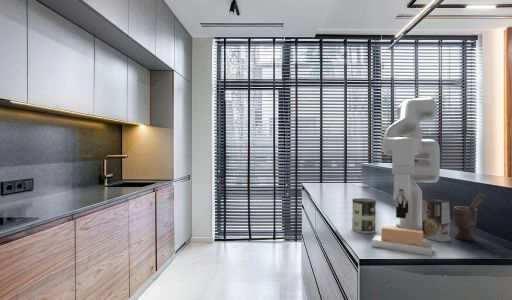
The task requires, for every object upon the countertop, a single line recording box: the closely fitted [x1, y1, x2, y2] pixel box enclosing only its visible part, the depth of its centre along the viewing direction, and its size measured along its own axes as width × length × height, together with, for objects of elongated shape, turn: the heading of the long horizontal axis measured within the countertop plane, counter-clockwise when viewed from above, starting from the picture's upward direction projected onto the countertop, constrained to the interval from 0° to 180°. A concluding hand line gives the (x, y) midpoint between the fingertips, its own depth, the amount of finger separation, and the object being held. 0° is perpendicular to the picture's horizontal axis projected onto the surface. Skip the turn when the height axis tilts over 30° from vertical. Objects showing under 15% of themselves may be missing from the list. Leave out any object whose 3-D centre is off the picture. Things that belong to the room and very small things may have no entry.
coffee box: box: [421, 198, 452, 243], centre depth 135 cm, size 9×6×16 cm
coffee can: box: [351, 197, 377, 234], centre depth 147 cm, size 10×10×14 cm
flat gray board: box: [371, 234, 433, 257], centre depth 121 cm, size 20×8×2 cm, turn 60°
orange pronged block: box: [380, 225, 424, 246], centre depth 121 cm, size 14×4×7 cm, turn 60°
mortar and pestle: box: [452, 193, 486, 242], centre depth 134 cm, size 12×9×20 cm
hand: (402, 215), depth 121 cm, fingers open, 9 cm apart
